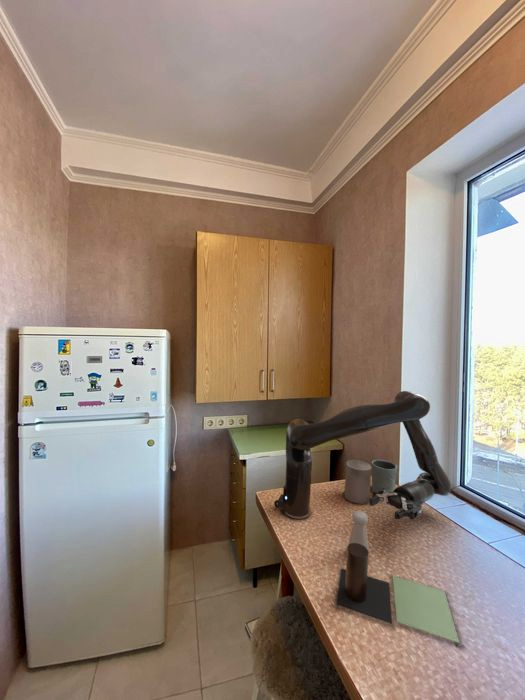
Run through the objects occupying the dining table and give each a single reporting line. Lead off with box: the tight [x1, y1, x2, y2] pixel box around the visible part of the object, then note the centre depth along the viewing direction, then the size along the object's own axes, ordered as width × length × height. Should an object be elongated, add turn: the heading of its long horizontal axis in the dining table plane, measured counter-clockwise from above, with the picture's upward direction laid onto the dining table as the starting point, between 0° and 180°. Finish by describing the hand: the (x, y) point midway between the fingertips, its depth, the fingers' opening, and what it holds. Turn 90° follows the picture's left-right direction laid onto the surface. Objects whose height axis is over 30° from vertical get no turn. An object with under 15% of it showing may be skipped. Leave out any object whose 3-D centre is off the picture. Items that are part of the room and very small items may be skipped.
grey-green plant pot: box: [370, 459, 398, 493], centre depth 125 cm, size 10×10×12 cm
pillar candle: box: [343, 459, 372, 505], centre depth 119 cm, size 10×10×15 cm
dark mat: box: [336, 568, 393, 625], centre depth 73 cm, size 12×12×1 cm
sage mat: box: [392, 575, 460, 646], centre depth 70 cm, size 12×14×1 cm
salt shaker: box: [347, 510, 370, 553], centre depth 85 cm, size 6×6×13 cm
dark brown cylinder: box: [345, 543, 370, 603], centre depth 72 cm, size 5×5×11 cm
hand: (382, 509), depth 91 cm, fingers open, 8 cm apart
